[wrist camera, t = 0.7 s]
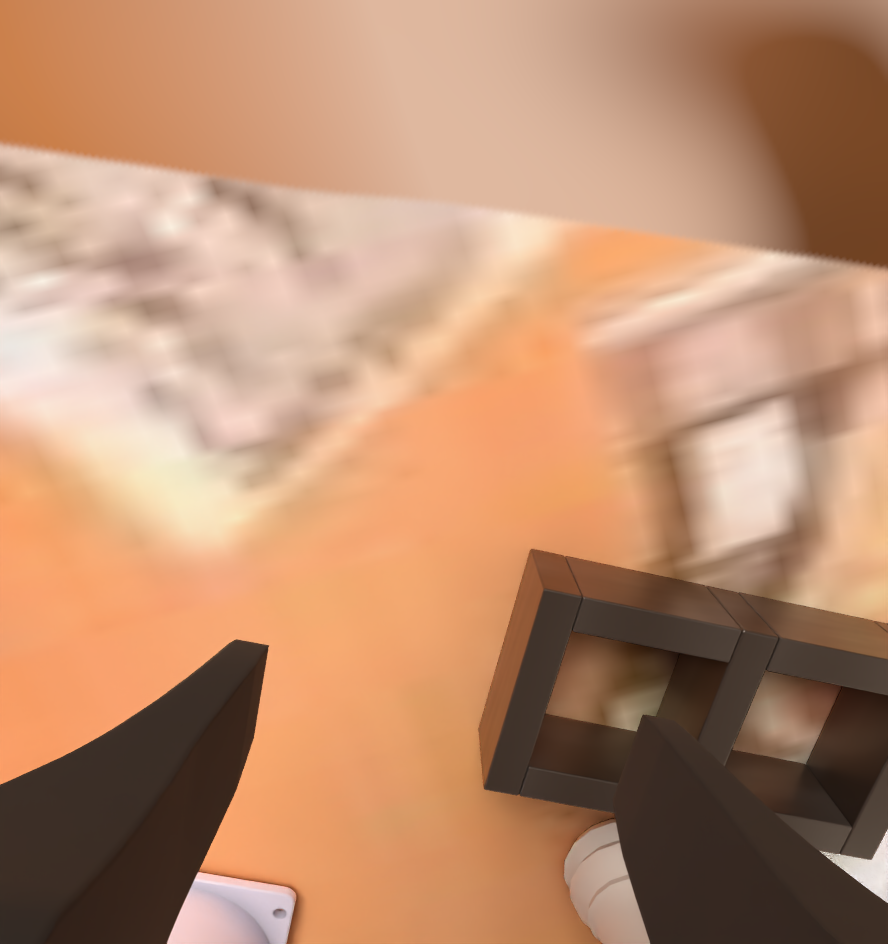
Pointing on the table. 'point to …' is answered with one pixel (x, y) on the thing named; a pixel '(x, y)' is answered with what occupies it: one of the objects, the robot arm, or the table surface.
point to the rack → (692, 695)
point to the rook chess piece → (604, 887)
